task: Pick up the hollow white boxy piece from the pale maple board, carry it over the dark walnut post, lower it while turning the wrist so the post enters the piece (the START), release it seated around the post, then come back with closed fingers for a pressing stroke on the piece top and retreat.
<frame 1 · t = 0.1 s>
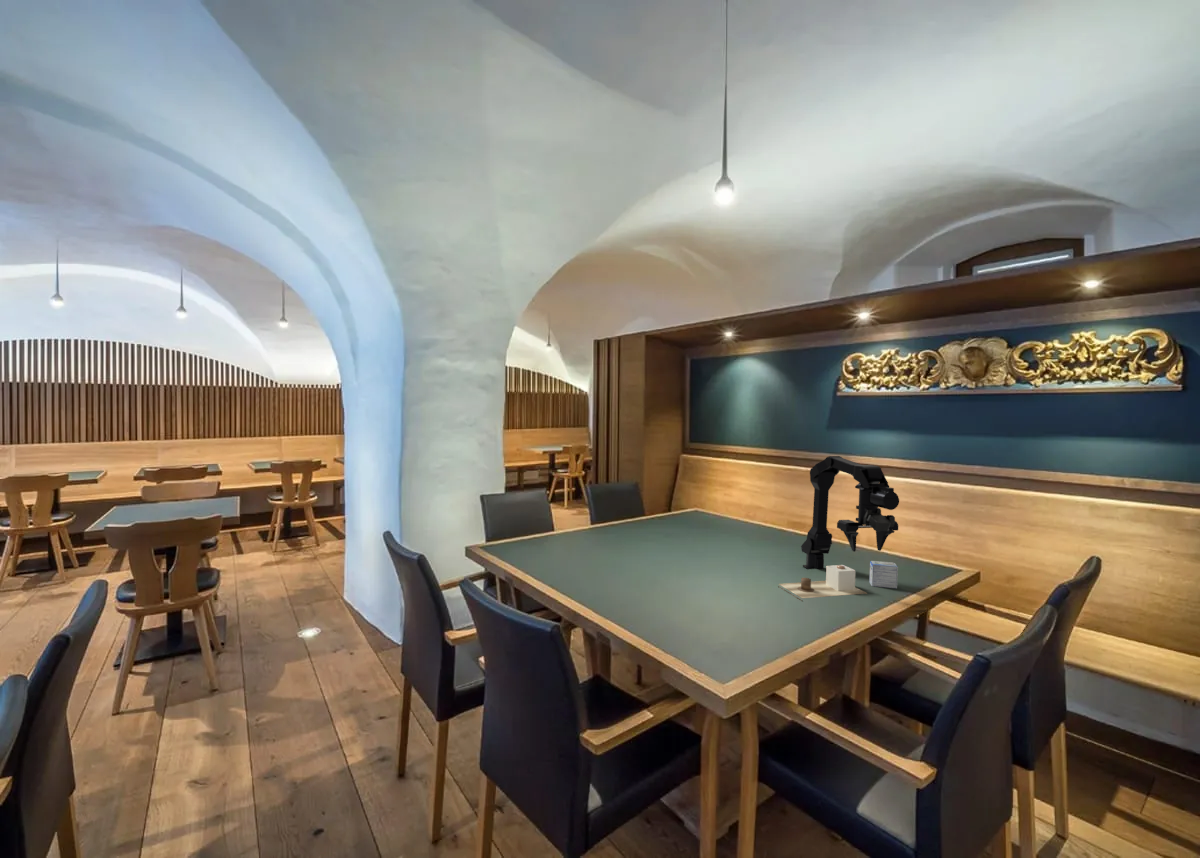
hand: (866, 550, 180), 14 cm above the table, fingers open, 9 cm apart
post board: (821, 591, 182), on the table
white boxy piece: (840, 587, 184), point 1 cm above the table, touching post board
medicine box: (882, 588, 186), on the table
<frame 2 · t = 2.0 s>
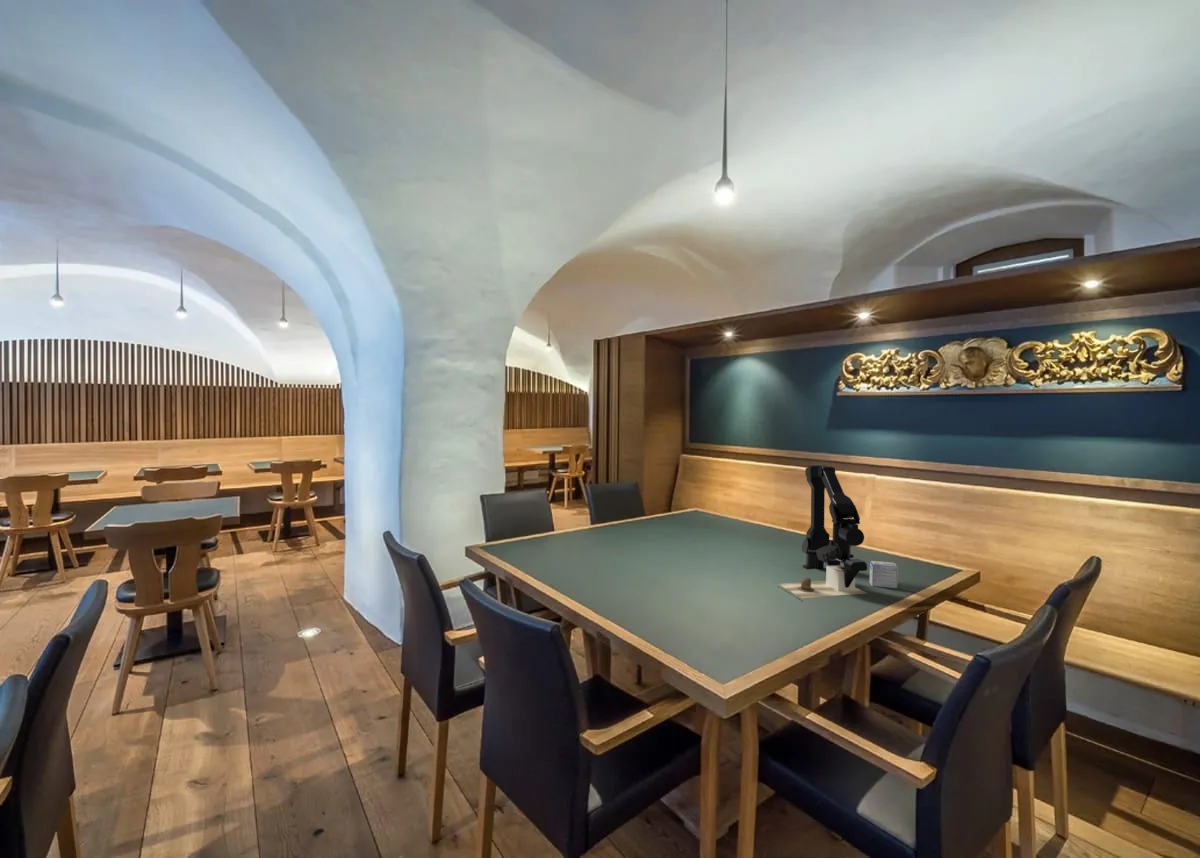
hand: (840, 584, 184), 2 cm above the table, fingers closed on white boxy piece, 6 cm apart
white boxy piece: (840, 587, 184), point 1 cm above the table, touching gripper, post board
everything else where it was.
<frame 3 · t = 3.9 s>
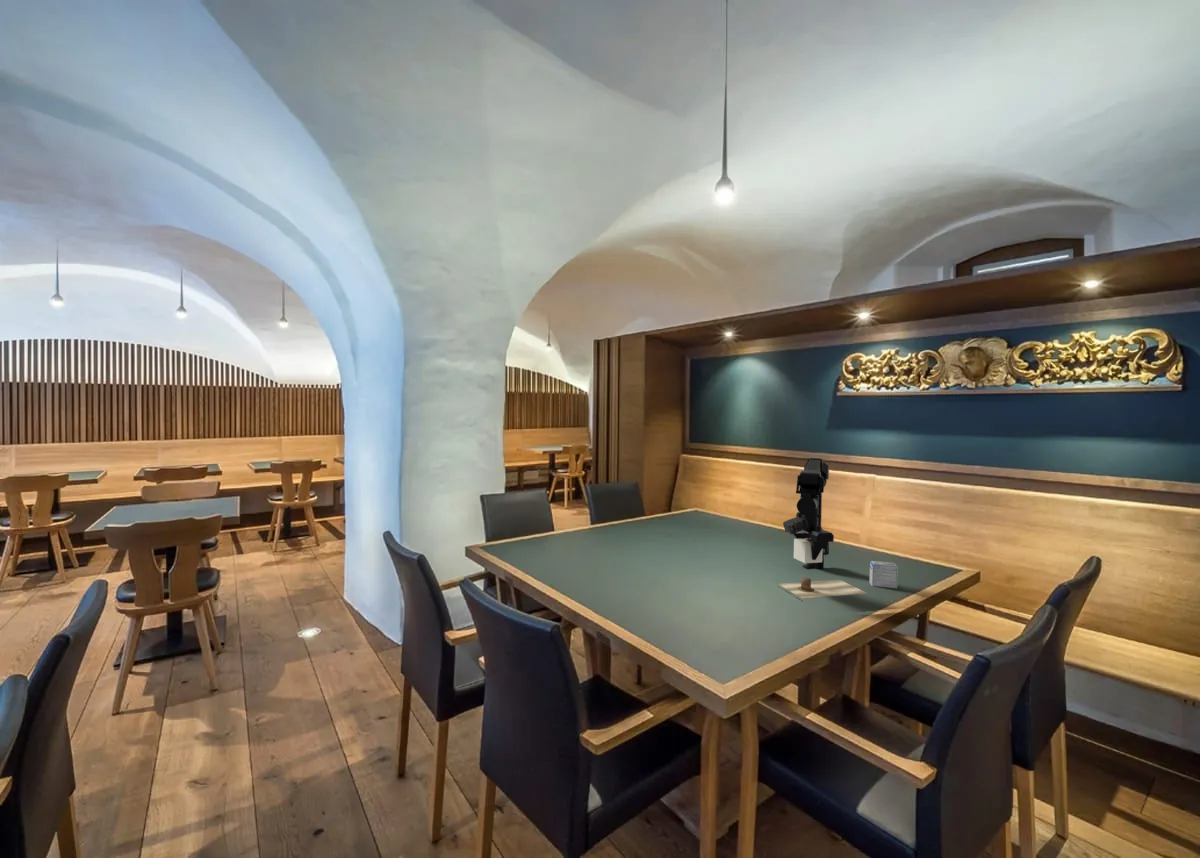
hand: (807, 557, 180), 12 cm above the table, fingers closed on white boxy piece, 6 cm apart
white boxy piece: (807, 560, 180), point 11 cm above the table, touching gripper
everything else where it was.
when the fingers open (3 cm above the table, at t = 5.7 s): white boxy piece drops 1 cm, resting on post board.
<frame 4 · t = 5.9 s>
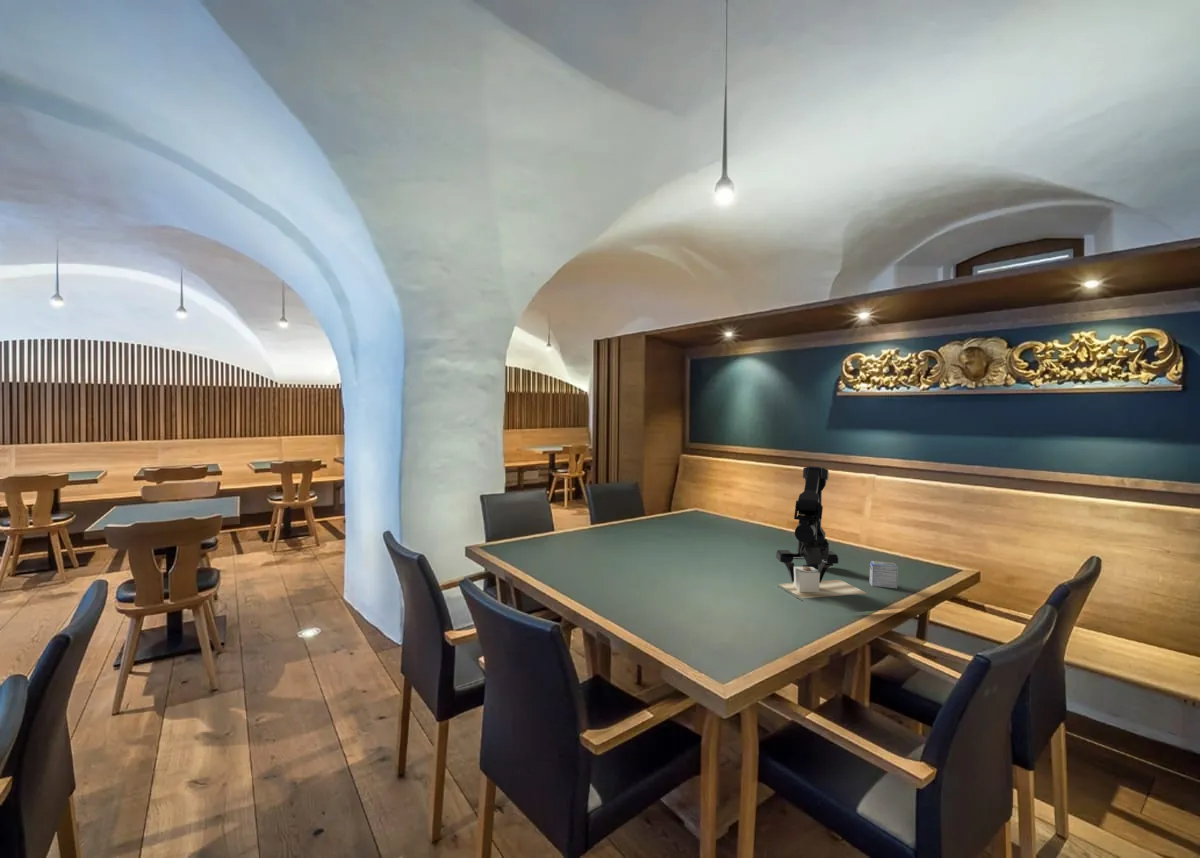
hand: (806, 582, 181), 3 cm above the table, fingers open, 8 cm apart
white boxy piece: (805, 588, 181), point 1 cm above the table, touching post board
everything else where it was.
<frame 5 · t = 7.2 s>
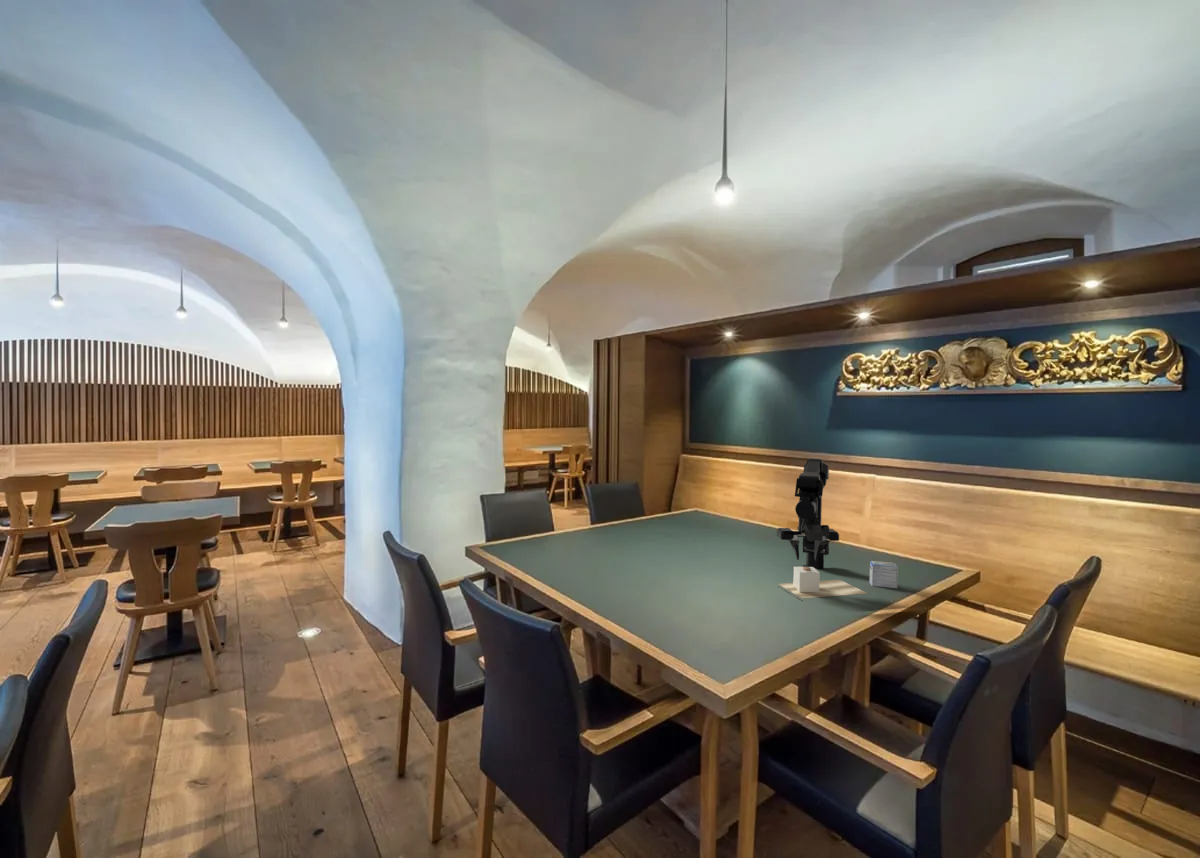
hand: (806, 559, 180), 11 cm above the table, fingers open, 6 cm apart
nothing on the table moved.
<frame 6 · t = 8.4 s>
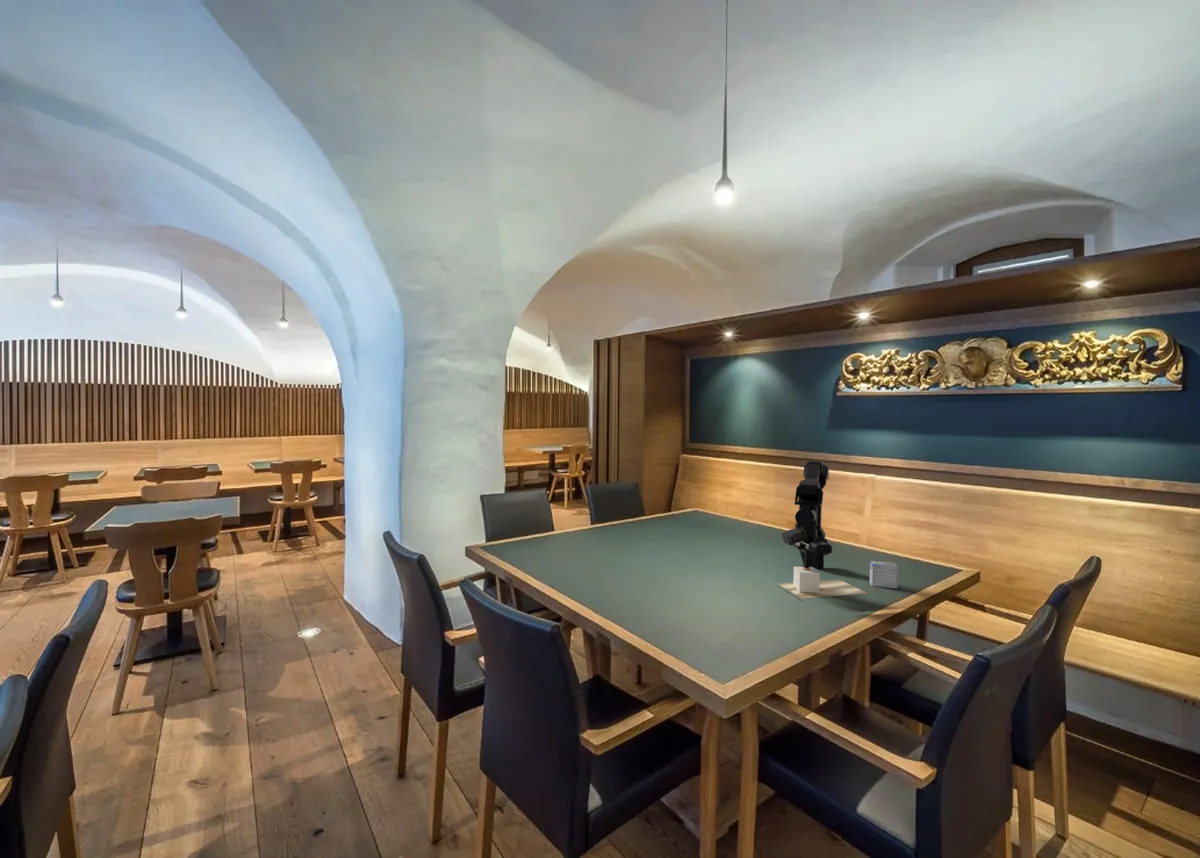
hand: (806, 568, 181), 8 cm above the table, fingers closed, pressing on white boxy piece
white boxy piece: (805, 588, 181), point 1 cm above the table, touching gripper, post board
everything else where it was.
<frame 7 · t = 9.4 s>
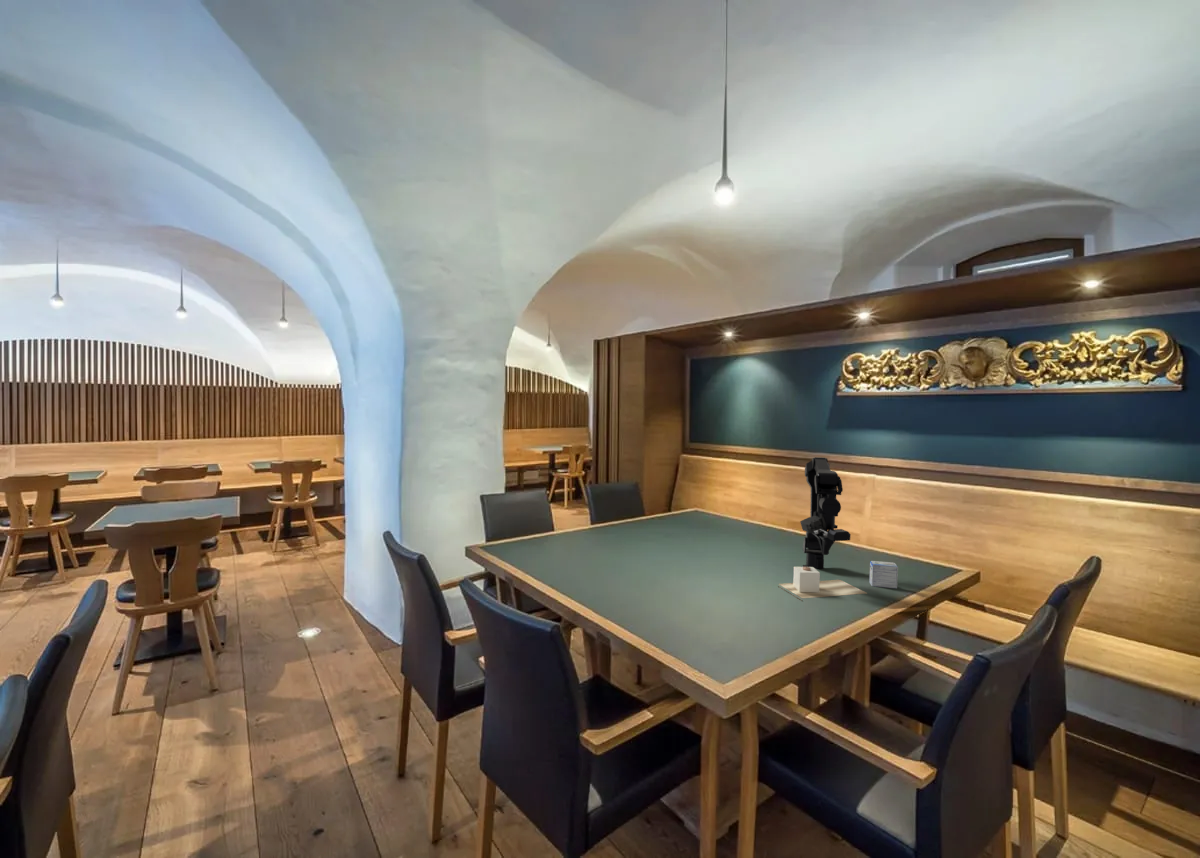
hand: (824, 554, 185), 12 cm above the table, fingers closed
white boxy piece: (806, 588, 181), point 1 cm above the table, touching post board
everything else where it was.
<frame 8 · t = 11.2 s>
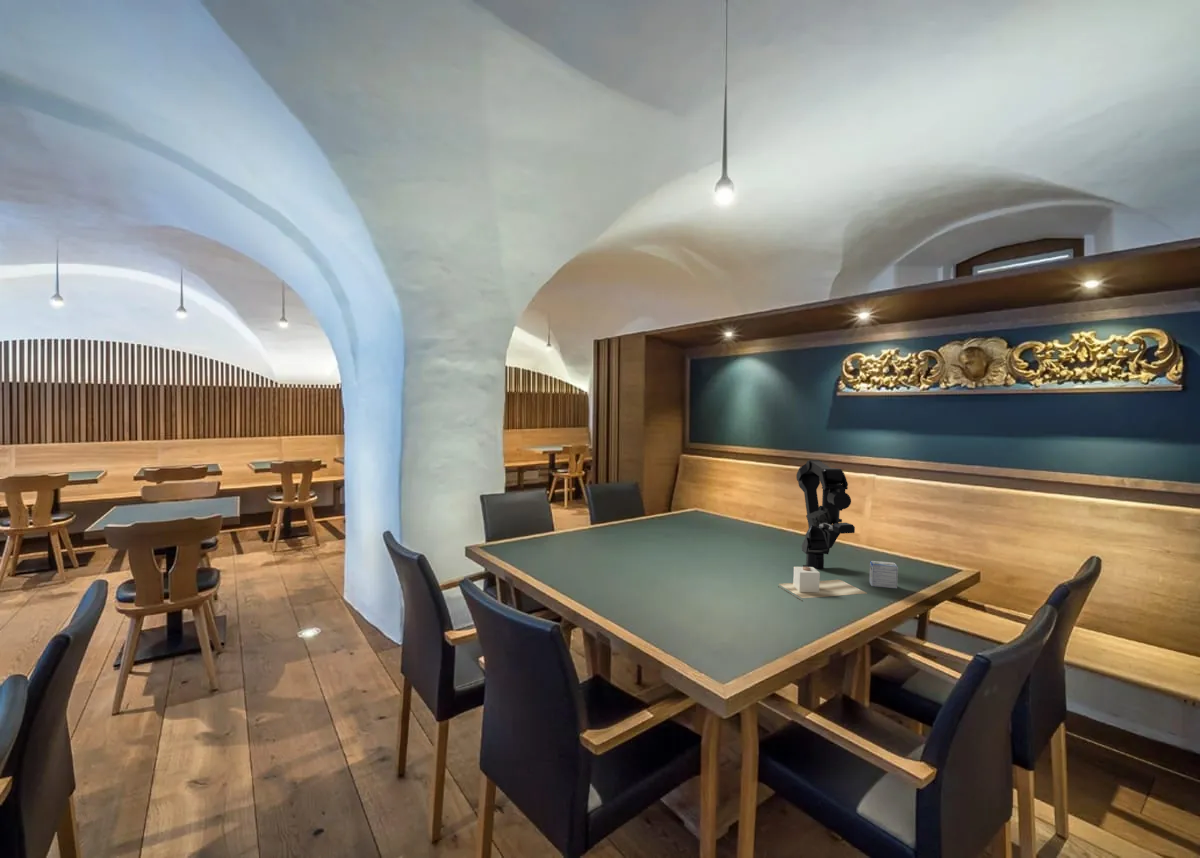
hand: (829, 547, 192), 12 cm above the table, fingers closed
nothing on the table moved.
at the end: white boxy piece 0.1 cm from the target spot on the post board, point 1.2 cm above the post board's base; white boxy piece tilted 0°; the gripper is holding nothing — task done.
